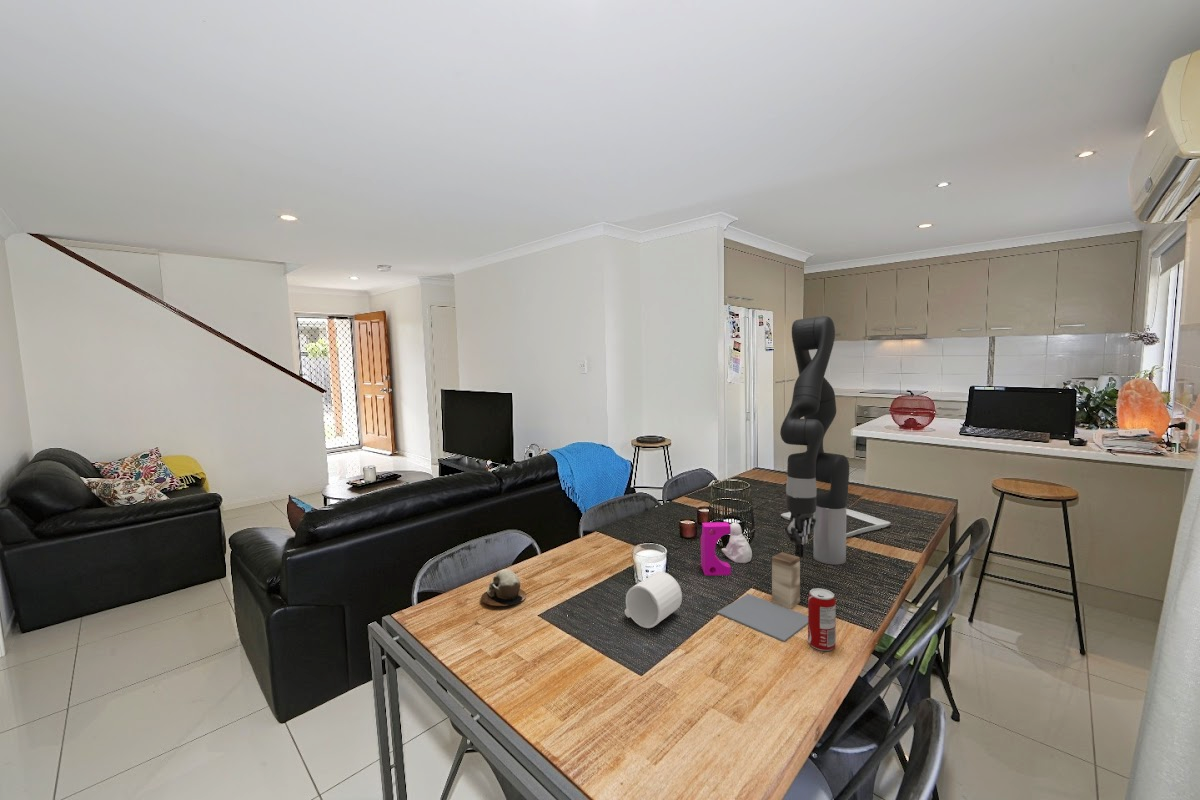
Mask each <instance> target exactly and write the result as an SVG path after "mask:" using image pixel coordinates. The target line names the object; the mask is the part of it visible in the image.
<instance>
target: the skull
mask: <svg viewBox="0 0 1200 800" xmlns="http://www.w3.org/2000/svg"><path fill="white" fill-rule="evenodd" d="M526 598H527V593H526V592H525V590H523V589H521V581H520V578H519V577H518V575H517V574H516V573H515V572H513V570H510V569H508V568H504V569H501V570H499V571H496V573H495V574H494V576H493V577H492V580H491V581H490V582H489V584H488V588H487V590H486V592H484V593H482V595H481V597H480V601H482V602H483V604H486V605H489V606H493V607H494V606H495V607H496V606H497V607H502V606H503V607H505V606H512V605H516V604H519V603H521V602H523V601H524V600H525V599H526Z"/></svg>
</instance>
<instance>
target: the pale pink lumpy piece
mask: <svg viewBox="0 0 1200 800" xmlns="http://www.w3.org/2000/svg"><path fill="white" fill-rule="evenodd" d="M729 525H730V529H731V533H729V540H728V543H727V545H726V547H723V548H721V551H722V553H723V554H724V555H725V556H726V558H728V559H729V560H730V561H733V562H734V563H739V564H747V563H750V562H751V560H752V558H753V552H752V548H751V546H750V544H749V542H748V541H747V540H746V539H747V538H746V537H745V536H744V534H743V533H742V532H743V530H742V527H741V525H740V524H739V523H738V522H732V523H729Z"/></svg>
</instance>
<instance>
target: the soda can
mask: <svg viewBox="0 0 1200 800" xmlns="http://www.w3.org/2000/svg"><path fill="white" fill-rule="evenodd" d="M807 601H808V603H807V616H808V624H807V642H808V644H809V645H810V646H811V647H812V648H814V649H816V650H818V651H822V652H828V651H833V649H834V648H835V647H836V642H837V641H836V640H837V639H836V632H837V631H836V626H837V623H836V622H837V621H836V619H837V614H836V613H837V607H836V606H837V602H836V598H835V593H833V592H832V591H830V590H829V589H825V588H821V587H820V588H819V587H818V588H817V587H816V588H811V590H809V594H808V597H807Z"/></svg>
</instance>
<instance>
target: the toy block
mask: <svg viewBox="0 0 1200 800" xmlns="http://www.w3.org/2000/svg"><path fill="white" fill-rule="evenodd" d="M730 533H731V529H730V523H729V522H727V521H726V522H725V521H723V522H720V521H719V522H718V521H717V522H702V523H701V535H700V567H701V569H702V571H703V574H704V576H731V575H732V567H731V566H730V564H729V562H726V561H723V560H721V559H720V558H719V557H718V556H717V555H716V552H715V551H716V546H717V543H718V541H720V539H721V538H722V537H723V536H725V535H730Z"/></svg>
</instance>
